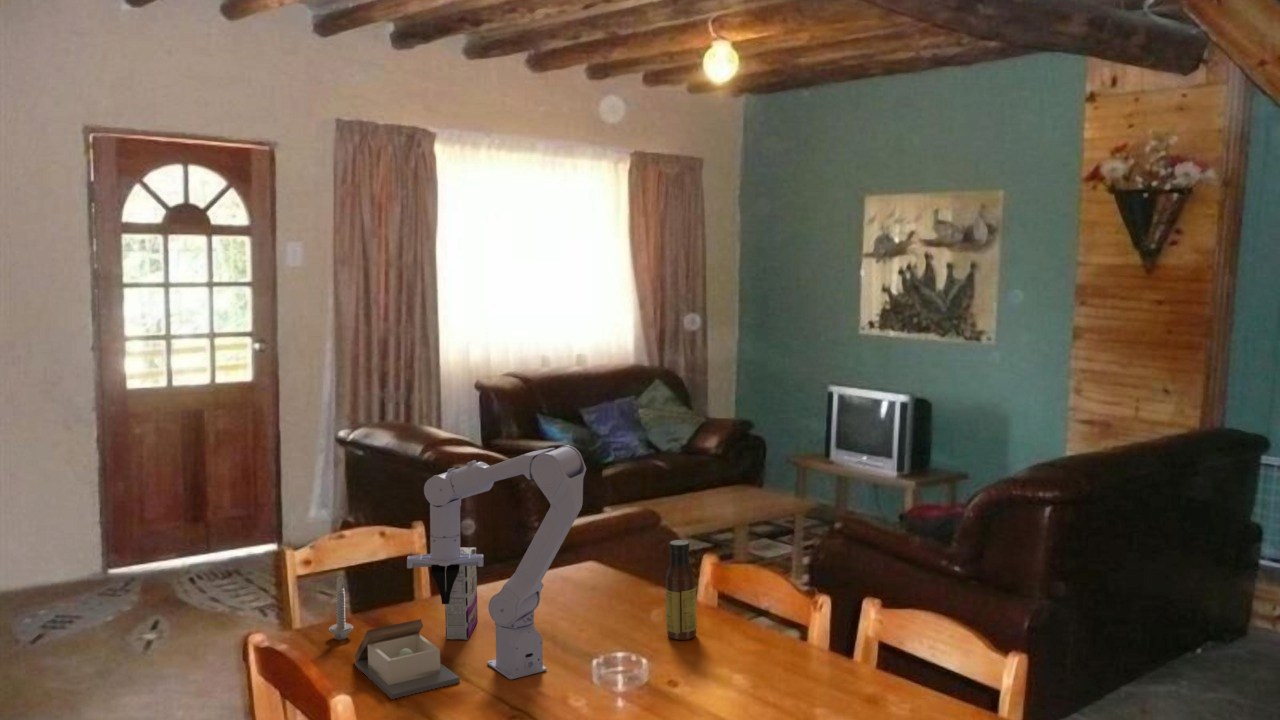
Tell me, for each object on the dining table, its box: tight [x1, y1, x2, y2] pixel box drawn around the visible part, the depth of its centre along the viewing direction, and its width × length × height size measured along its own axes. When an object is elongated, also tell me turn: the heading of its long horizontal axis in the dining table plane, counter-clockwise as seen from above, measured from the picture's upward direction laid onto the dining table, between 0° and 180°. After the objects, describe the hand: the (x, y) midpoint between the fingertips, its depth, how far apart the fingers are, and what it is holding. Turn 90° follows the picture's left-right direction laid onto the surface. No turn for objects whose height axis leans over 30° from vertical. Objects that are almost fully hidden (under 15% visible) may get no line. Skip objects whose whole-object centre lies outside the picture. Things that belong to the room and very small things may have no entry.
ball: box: [397, 648, 413, 657], centre depth 196 cm, size 3×3×3 cm
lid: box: [354, 618, 424, 661], centre depth 202 cm, size 10×10×2 cm
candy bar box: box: [444, 546, 479, 641], centre depth 218 cm, size 11×5×16 cm, turn 179°
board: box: [354, 659, 461, 700], centre depth 196 cm, size 18×13×1 cm
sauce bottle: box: [665, 539, 698, 641], centre depth 216 cm, size 6×6×20 cm
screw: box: [328, 575, 355, 641], centre depth 214 cm, size 13×5×5 cm
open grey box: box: [368, 633, 441, 685], centre depth 195 cm, size 10×10×4 cm
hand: (445, 602), depth 205 cm, fingers closed
